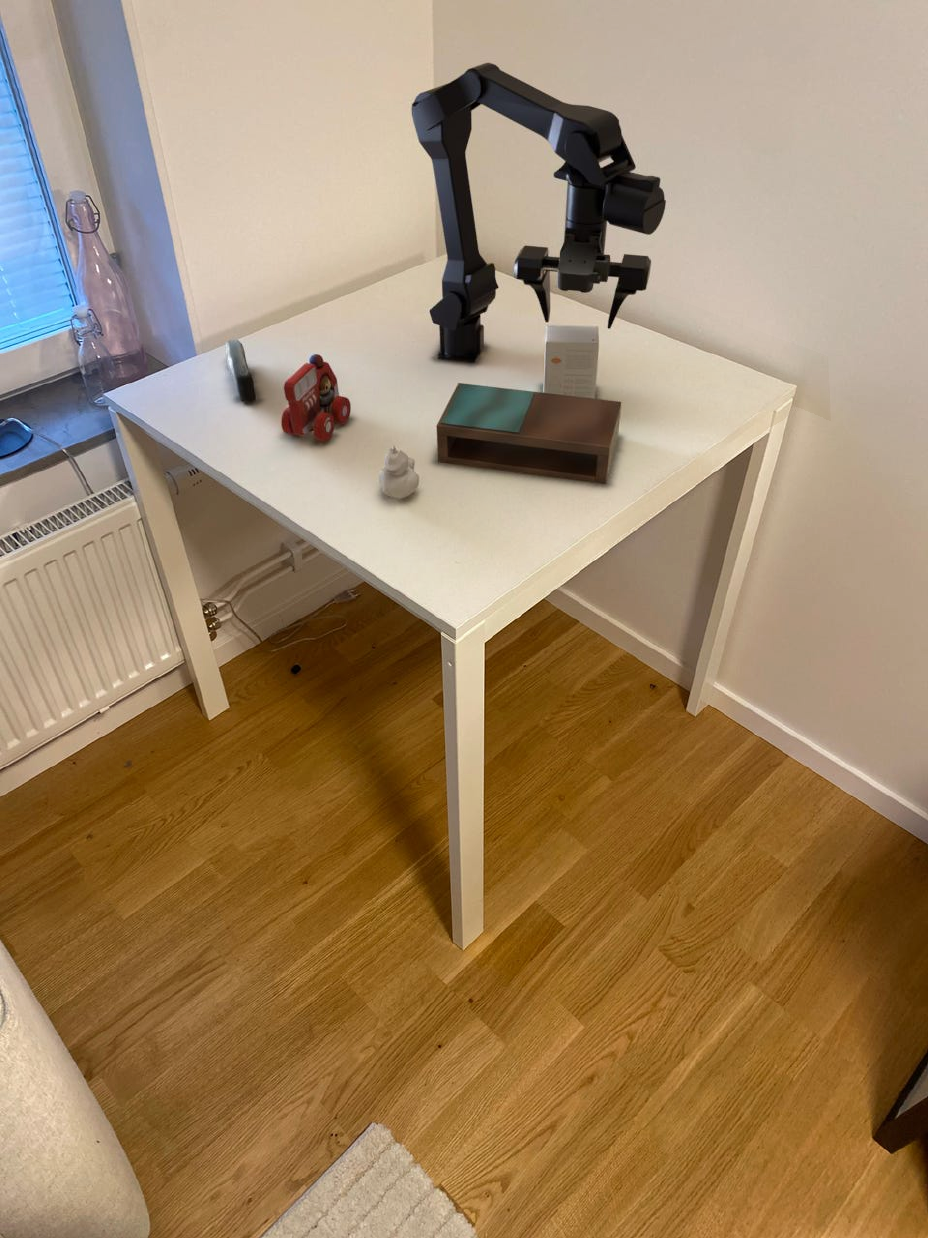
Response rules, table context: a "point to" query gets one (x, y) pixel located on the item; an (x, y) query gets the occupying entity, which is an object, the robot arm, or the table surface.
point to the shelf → (529, 432)
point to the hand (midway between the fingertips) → (578, 324)
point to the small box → (571, 360)
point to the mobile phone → (240, 371)
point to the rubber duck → (398, 474)
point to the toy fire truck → (314, 401)
